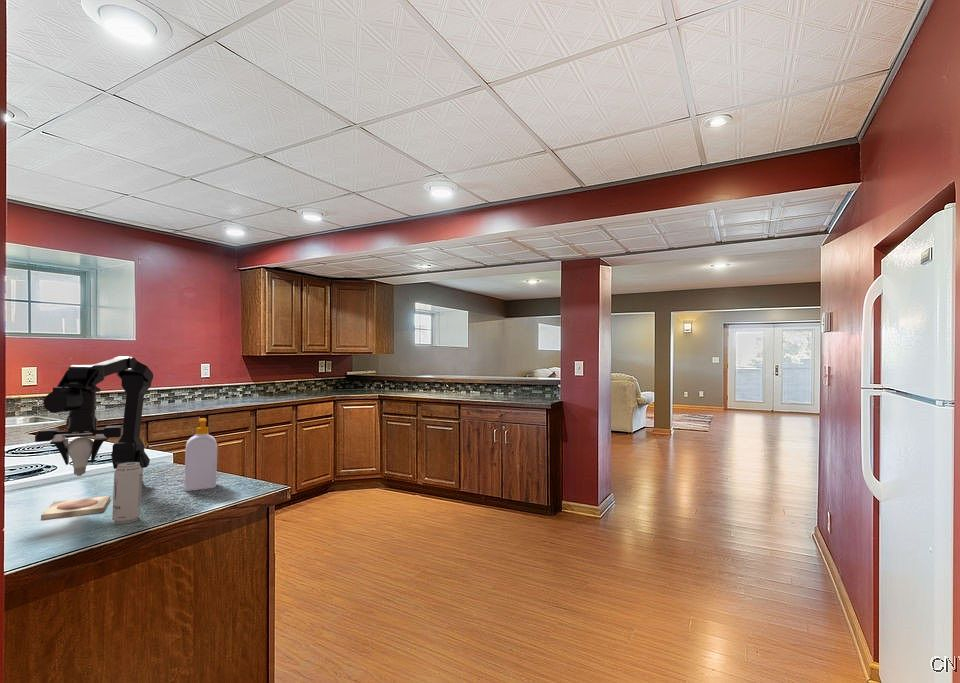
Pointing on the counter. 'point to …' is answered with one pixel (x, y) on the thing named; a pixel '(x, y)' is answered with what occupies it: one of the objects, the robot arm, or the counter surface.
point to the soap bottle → (200, 460)
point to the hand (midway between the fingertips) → (80, 463)
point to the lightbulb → (80, 453)
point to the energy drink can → (127, 492)
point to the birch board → (76, 507)
